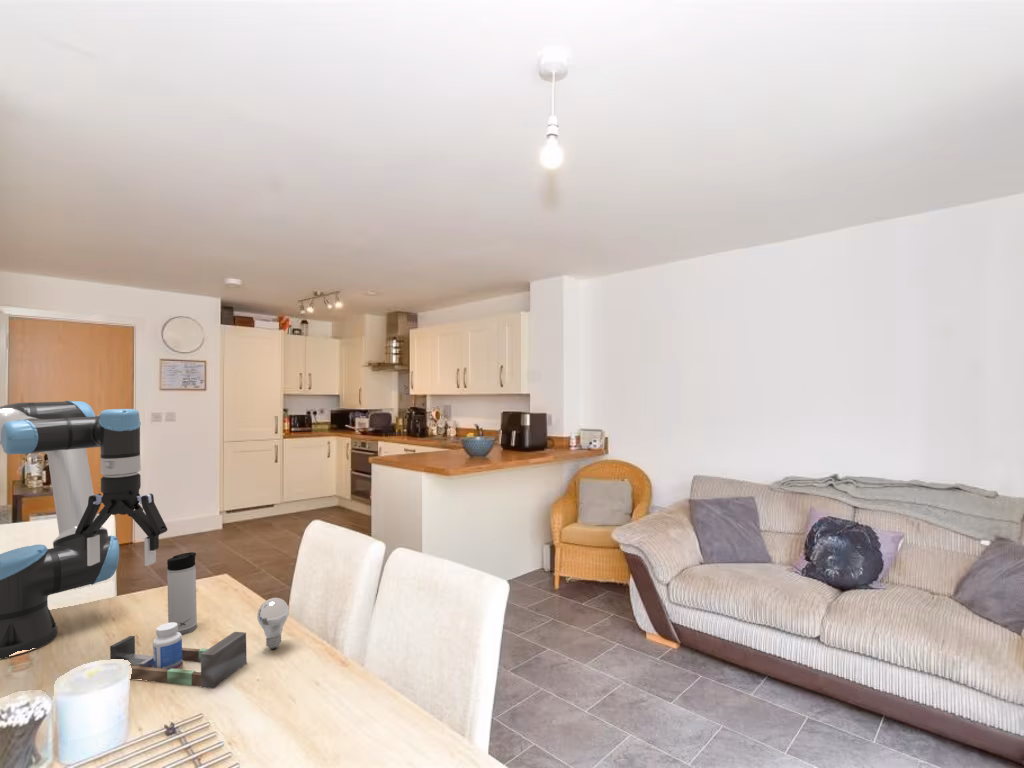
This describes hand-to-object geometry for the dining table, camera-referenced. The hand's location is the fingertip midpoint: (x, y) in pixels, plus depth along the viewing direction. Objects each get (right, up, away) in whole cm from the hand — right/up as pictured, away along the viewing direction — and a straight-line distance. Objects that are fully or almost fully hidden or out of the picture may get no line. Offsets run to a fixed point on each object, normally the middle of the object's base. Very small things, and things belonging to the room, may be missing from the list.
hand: (122, 564), depth 123 cm
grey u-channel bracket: (+7, -21, -4) cm, 23 cm away
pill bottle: (+15, -22, -6) cm, 27 cm away
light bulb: (+35, -21, +2) cm, 41 cm away
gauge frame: (+19, -22, -7) cm, 29 cm away
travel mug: (+6, -22, +13) cm, 26 cm away
